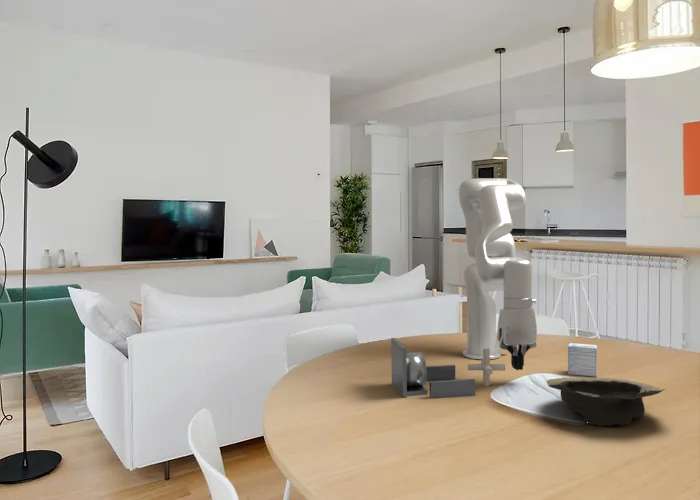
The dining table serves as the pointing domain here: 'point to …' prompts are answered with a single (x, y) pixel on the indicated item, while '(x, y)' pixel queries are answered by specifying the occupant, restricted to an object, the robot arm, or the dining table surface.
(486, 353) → the pipe connector
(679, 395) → the dining table surface
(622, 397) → the stone bowl
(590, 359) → the medicine box
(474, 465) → the dining table surface
